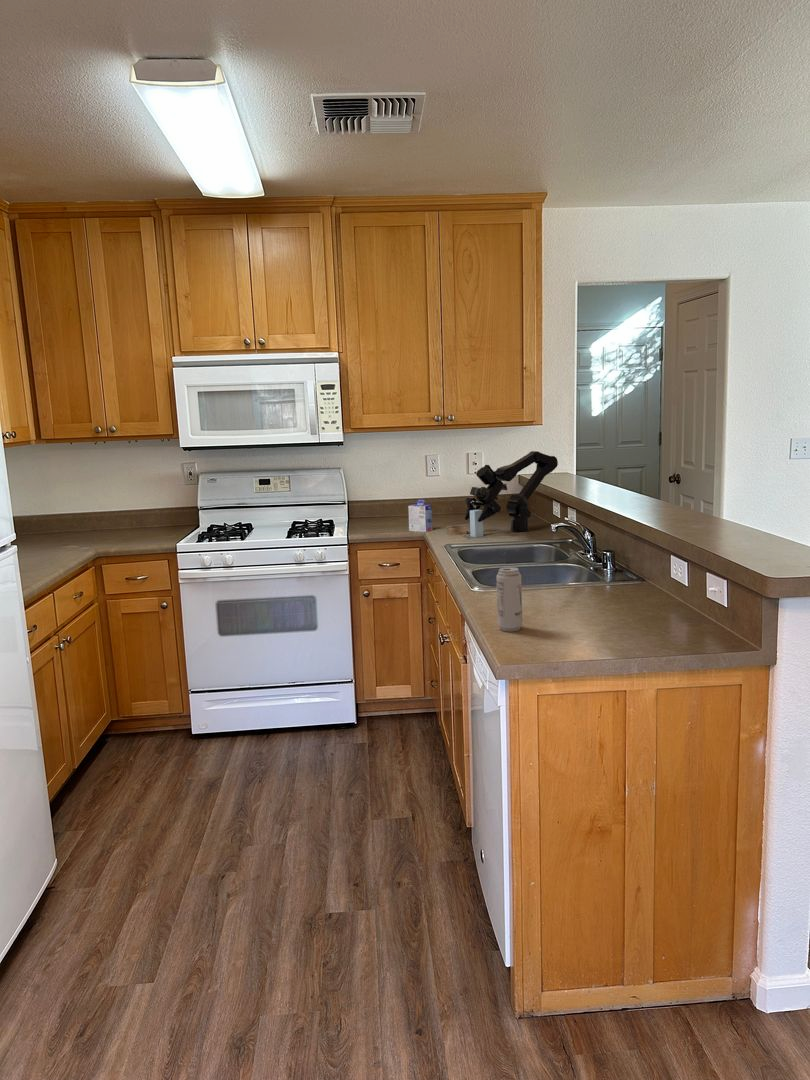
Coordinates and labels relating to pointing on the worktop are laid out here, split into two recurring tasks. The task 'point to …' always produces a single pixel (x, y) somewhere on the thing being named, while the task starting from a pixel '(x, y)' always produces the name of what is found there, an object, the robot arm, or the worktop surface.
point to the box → (456, 530)
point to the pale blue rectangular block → (476, 523)
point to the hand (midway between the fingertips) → (471, 520)
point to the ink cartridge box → (420, 517)
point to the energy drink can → (509, 599)
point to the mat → (474, 537)
